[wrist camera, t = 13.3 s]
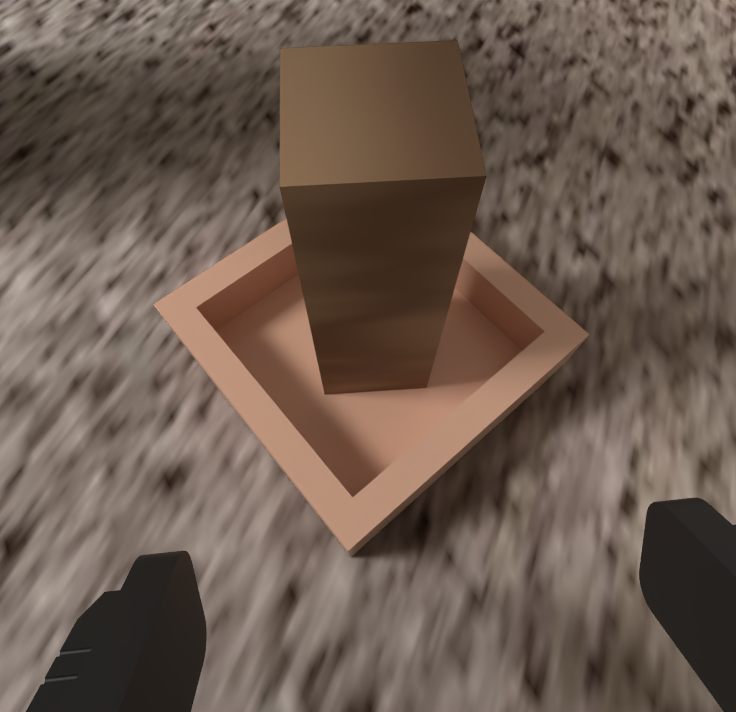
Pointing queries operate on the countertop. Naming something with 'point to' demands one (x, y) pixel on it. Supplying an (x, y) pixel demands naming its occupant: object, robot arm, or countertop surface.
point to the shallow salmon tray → (366, 409)
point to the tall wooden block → (378, 202)
